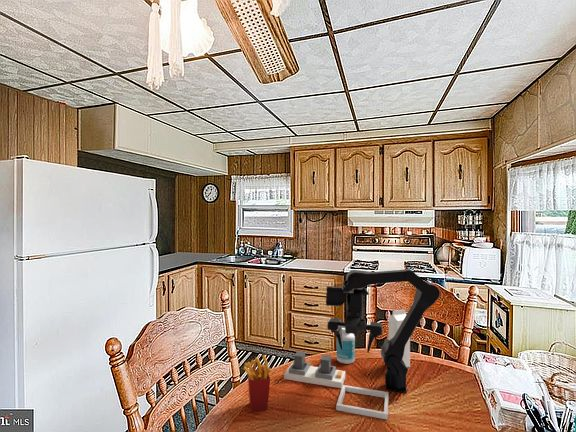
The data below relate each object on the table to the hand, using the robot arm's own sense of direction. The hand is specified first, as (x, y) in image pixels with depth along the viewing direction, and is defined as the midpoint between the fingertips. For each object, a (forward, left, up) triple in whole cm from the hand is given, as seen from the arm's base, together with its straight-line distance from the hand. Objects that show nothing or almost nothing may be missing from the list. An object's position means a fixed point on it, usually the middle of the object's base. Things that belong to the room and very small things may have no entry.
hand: (354, 350), depth 116 cm
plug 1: (+20, -1, -10) cm, 23 cm away
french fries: (+28, +23, -12) cm, 38 cm away
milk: (-15, -22, -12) cm, 29 cm away
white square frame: (-4, +11, -12) cm, 17 cm away
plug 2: (+10, 0, -10) cm, 15 cm away
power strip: (+14, -1, -12) cm, 19 cm away
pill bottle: (+6, -19, -12) cm, 23 cm away
